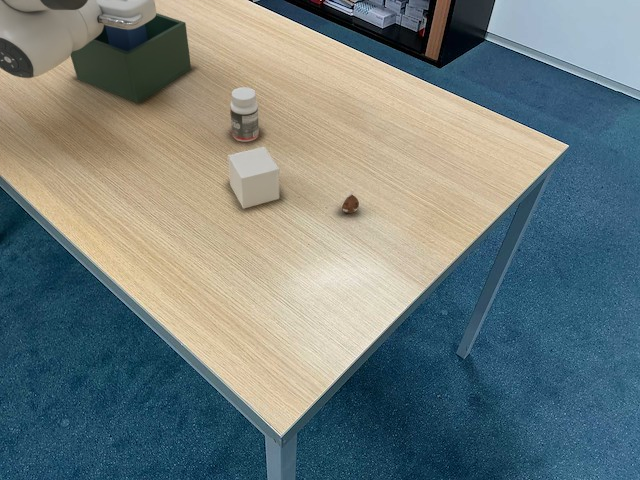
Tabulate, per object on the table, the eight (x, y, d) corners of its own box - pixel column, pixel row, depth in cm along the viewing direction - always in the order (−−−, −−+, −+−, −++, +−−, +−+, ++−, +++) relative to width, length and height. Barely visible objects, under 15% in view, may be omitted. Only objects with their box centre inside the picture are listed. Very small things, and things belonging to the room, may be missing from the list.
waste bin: (77, 79, 107) (63, 30, 100) (133, 48, 116) (123, 2, 109) (138, 103, 102) (128, 54, 95) (191, 69, 112) (185, 22, 105)
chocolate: (348, 220, 83) (351, 200, 80) (338, 212, 84) (340, 193, 81) (361, 211, 84) (364, 192, 82) (351, 204, 85) (353, 184, 83)
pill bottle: (228, 130, 97) (224, 88, 91) (252, 124, 99) (251, 83, 93) (237, 145, 95) (235, 103, 89) (263, 138, 96) (261, 97, 90)
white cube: (243, 209, 83) (241, 178, 79) (230, 185, 87) (227, 155, 83) (279, 198, 85) (279, 168, 81) (265, 176, 89) (264, 146, 85)
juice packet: (116, 75, 107) (98, -2, 96) (132, 61, 111) (116, -15, 100) (137, 79, 106) (121, 2, 95) (152, 65, 110) (138, -11, 99)
